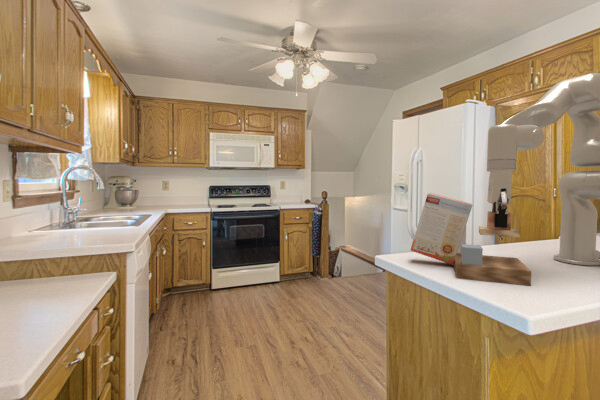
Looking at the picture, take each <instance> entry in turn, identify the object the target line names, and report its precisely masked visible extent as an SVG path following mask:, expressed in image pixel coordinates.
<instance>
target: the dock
mask: <svg viewBox="0 0 600 400" xmlns="http://www.w3.org/2000/svg"><path fill="white" fill-rule="evenodd" d="M453 268H454V269H453V270H454V272H455V278H456V279H464V280H465V279H466V280H473V281H474V280H475V281H480V282H481V281H482V282H492V283H502V284H510V285H518V286H519V285H520V286H527V287H528V286H530V287H531V286H532V285H531V284H532V270H531V269H530V268H528V266H527V265H526V264H524V262H522V261H521V260H520V259H519V258H518V257H509V256H495V255H484V254H482V266H475V265H464V264H462V262H461V253H457V254H456V255H454V263H453Z"/></svg>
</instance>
